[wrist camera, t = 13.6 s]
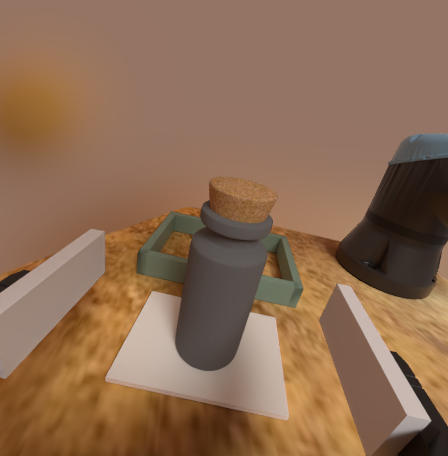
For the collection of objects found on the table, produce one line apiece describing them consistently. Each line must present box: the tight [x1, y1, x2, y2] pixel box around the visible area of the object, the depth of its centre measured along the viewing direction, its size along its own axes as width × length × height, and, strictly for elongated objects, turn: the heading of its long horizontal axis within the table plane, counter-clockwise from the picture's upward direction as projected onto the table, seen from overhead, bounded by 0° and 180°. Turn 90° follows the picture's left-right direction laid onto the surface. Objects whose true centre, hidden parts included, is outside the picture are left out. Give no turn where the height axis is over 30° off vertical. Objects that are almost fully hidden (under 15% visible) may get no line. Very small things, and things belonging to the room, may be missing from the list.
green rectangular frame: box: [137, 211, 303, 308], centre depth 36 cm, size 20×14×3 cm
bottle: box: [175, 177, 278, 371], centre depth 20 cm, size 6×6×15 cm
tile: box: [105, 291, 289, 421], centre depth 23 cm, size 14×10×1 cm
